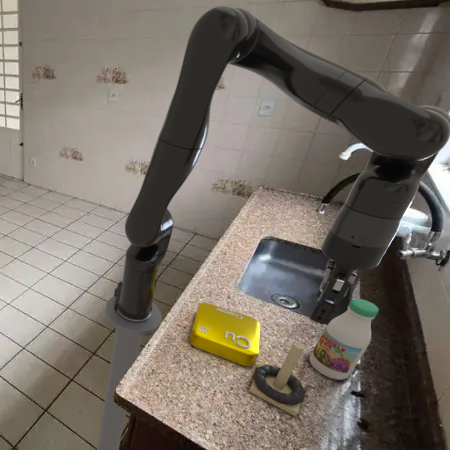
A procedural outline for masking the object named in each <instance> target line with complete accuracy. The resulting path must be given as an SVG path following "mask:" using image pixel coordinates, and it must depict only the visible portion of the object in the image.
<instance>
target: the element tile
mask: <svg viewBox="0 0 450 450" xmlns="http://www.w3.org/2000/svg"><path fill="white" fill-rule="evenodd" d="M260 331H261V324H260V322H259V320H257V319H256V318H253V317H251V316H248V315H246V314H242V313H240V312H236V311H233V310H230V309H228V308H224V307H221V306H217V305H216V304H211V303H209V302H200V304H198V307H197V311H196V314H195V318H194V321H193V325H192V329H191V331H190V332H191V333H190V335H189V343H190V344H191V345H192V346H193V347H195V348H197V349H199V350H202V351H205V352H208V353H210V354H212V355H215V356H218V357H220V358H222V359H225V360H227V361H231V362H233V363H236V364H238V365H240V366H244V367H253V365H254V364H255V362H256V360H257V357H258V355H259V353H260V352H259V351H260V349H259V348H260Z"/></svg>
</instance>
